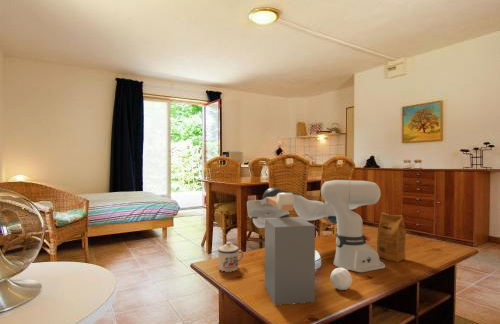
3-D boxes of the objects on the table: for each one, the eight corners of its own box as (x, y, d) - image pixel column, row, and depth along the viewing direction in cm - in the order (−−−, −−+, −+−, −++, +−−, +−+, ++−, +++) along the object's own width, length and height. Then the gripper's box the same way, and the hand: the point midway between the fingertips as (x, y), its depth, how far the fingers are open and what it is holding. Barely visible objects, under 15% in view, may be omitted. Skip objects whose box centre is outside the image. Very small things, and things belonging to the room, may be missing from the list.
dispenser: (299, 284, 112) (299, 217, 112) (314, 302, 98) (314, 225, 98) (264, 286, 109) (264, 218, 109) (274, 305, 95) (275, 227, 95)
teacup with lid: (222, 274, 122) (222, 246, 122) (215, 267, 130) (215, 241, 130) (247, 269, 127) (248, 242, 127) (239, 262, 135) (239, 237, 135)
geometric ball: (335, 294, 109) (325, 273, 113) (354, 286, 110) (343, 266, 114) (338, 292, 103) (327, 270, 107) (358, 284, 103) (347, 262, 107)
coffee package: (385, 253, 150) (385, 210, 150) (408, 260, 140) (409, 214, 140) (373, 256, 145) (373, 212, 145) (396, 263, 134) (397, 216, 134)
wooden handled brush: (276, 201, 127) (276, 187, 127) (294, 210, 104) (294, 193, 104) (265, 201, 126) (265, 187, 126) (281, 210, 103) (281, 193, 103)
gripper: (288, 216, 135) (297, 205, 124) (245, 218, 131) (250, 206, 120) (286, 203, 138) (294, 192, 127) (244, 205, 135) (248, 192, 123)
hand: (272, 199), depth 123 cm, fingers closed on wooden handled brush, 4 cm apart
